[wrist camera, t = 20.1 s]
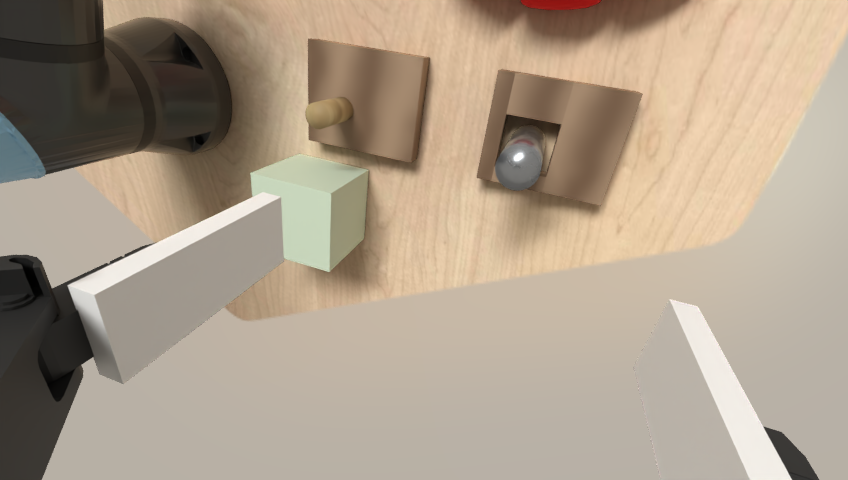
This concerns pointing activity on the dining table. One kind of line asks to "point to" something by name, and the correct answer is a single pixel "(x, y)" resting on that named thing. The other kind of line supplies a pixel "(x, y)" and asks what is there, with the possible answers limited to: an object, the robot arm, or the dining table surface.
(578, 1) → the decorative ring
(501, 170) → the peg
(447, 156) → the dining table surface
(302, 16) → the dining table surface
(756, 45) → the dining table surface
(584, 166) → the square hole block
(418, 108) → the board
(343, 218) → the pale green cube
